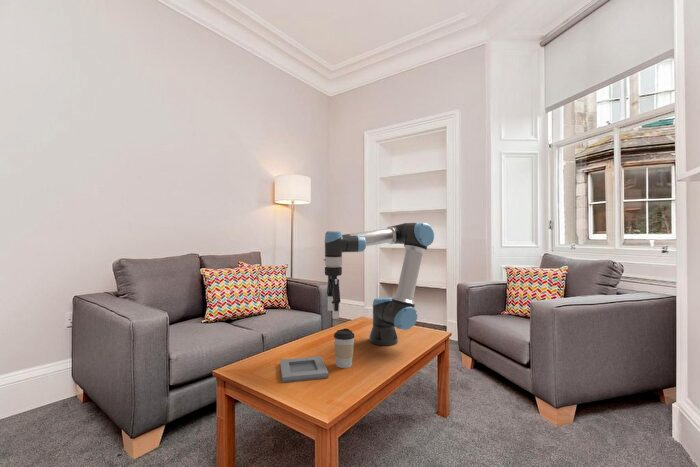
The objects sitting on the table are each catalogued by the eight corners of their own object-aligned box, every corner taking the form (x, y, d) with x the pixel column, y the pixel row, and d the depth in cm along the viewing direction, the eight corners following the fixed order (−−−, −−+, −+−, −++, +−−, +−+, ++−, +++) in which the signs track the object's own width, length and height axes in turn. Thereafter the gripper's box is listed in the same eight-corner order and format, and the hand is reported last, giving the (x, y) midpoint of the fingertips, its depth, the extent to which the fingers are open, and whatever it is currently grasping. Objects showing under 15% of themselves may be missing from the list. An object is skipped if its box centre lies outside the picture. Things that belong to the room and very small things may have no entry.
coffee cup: (352, 370, 139) (352, 334, 139) (331, 368, 141) (331, 333, 141) (355, 361, 148) (356, 328, 148) (336, 360, 150) (336, 327, 150)
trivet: (320, 360, 149) (320, 356, 149) (328, 377, 132) (328, 372, 132) (280, 364, 145) (280, 359, 144) (282, 382, 127) (282, 377, 127)
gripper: (321, 263, 157) (320, 308, 157) (329, 269, 133) (329, 322, 133) (336, 263, 159) (336, 307, 159) (347, 269, 134) (347, 321, 135)
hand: (333, 314), depth 146 cm, fingers open, 13 cm apart
